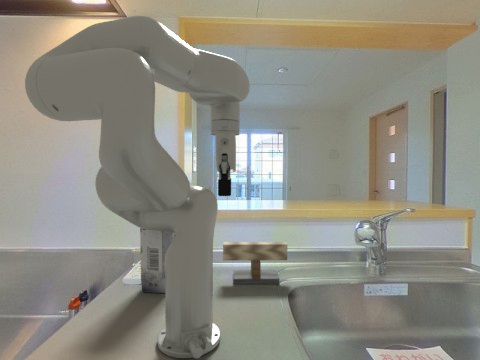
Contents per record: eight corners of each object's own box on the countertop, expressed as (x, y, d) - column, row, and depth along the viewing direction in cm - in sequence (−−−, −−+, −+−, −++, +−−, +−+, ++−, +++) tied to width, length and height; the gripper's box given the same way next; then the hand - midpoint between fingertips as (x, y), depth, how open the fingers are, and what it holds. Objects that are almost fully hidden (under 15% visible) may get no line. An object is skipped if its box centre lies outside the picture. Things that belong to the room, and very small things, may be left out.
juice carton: (179, 280, 92) (179, 194, 91) (168, 295, 82) (167, 197, 81) (152, 279, 93) (151, 194, 92) (137, 293, 83) (136, 197, 82)
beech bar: (285, 257, 95) (285, 241, 95) (287, 260, 92) (287, 244, 92) (223, 257, 95) (223, 242, 95) (223, 260, 92) (223, 244, 92)
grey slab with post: (279, 283, 90) (279, 262, 90) (233, 284, 90) (233, 262, 89) (275, 274, 98) (275, 254, 98) (233, 274, 98) (233, 255, 97)
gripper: (240, 124, 69) (240, 197, 70) (238, 133, 86) (238, 191, 87) (208, 124, 69) (208, 197, 70) (213, 132, 86) (213, 191, 87)
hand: (225, 194), depth 78 cm, fingers open, 9 cm apart
